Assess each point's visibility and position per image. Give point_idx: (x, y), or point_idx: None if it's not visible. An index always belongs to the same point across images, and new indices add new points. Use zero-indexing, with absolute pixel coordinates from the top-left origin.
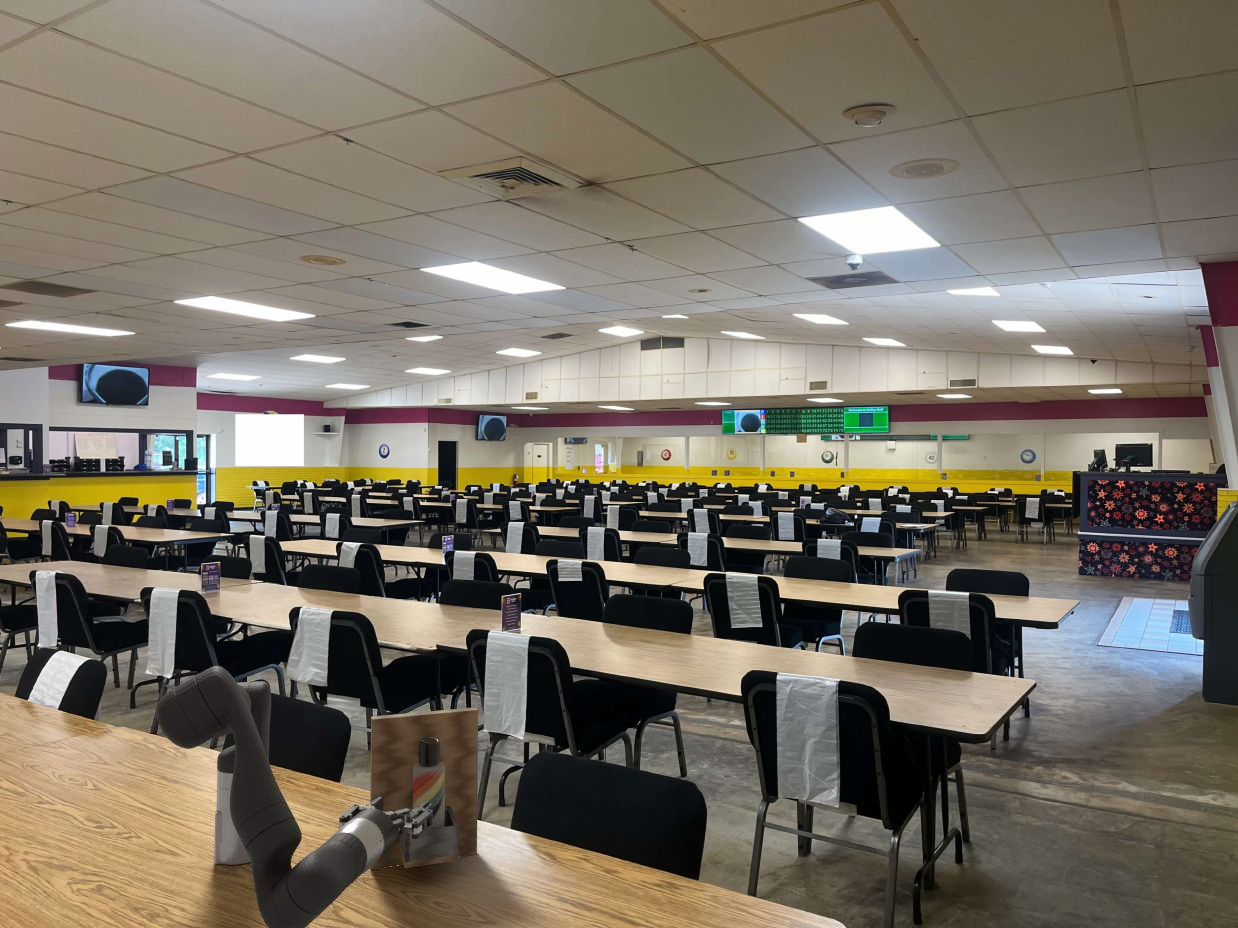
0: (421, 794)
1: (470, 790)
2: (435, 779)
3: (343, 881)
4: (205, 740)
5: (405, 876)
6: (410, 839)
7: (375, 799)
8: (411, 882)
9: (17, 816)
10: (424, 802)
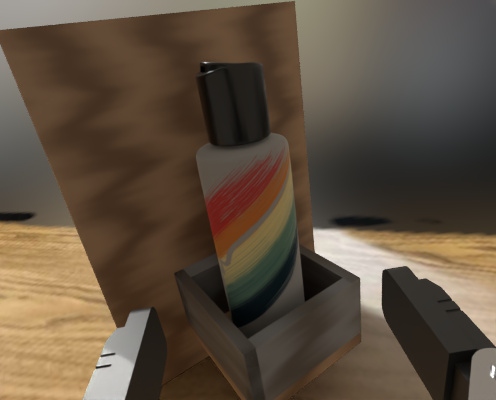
0: (250, 230)
1: (298, 189)
2: (283, 178)
3: None
4: None
5: (233, 395)
6: (260, 360)
7: (119, 344)
8: None
9: None
10: (412, 291)
